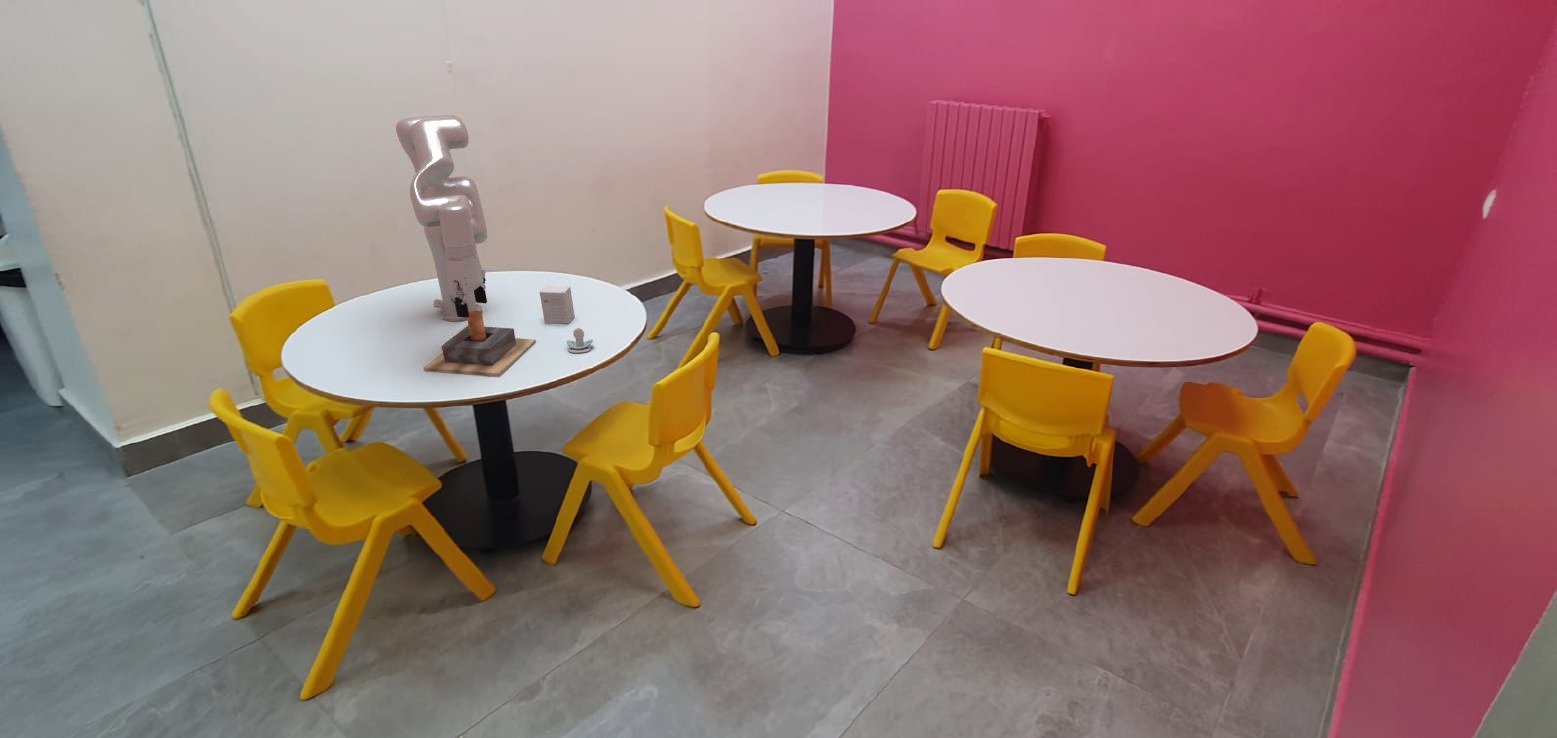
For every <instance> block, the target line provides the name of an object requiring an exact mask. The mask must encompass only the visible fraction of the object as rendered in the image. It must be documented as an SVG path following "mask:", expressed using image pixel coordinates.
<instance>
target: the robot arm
mask: <svg viewBox="0 0 1557 738" xmlns="http://www.w3.org/2000/svg"><path fill="white" fill-rule="evenodd" d="M395 130H396V131H395V132H396V135H397V138H398V141H399V143H400V145H401V147H402V149H403V151H404V152H405V154H406V155H407V157H408V159H409V160H410V162H411V164H412V166H413V169H414V172H415V174H414V176H413V178H412V179H411V183H410V185H409V186H410V187H409V194H410V201H411V204H412V208H413V211H414V215H415V218H416V220H417V222H418V223H419V225H421V226H422V227H423V231H424V235H425V238H426V240H427V243H428V245H429V248H430V252H431V255H432V257H433V258H432V259H433V262H434V267H435V271H436V276H437V280H438V285H439V286H438V287H439V290H440V296H441V298H442V299H434V301H433V305H432V306H433V309H434V308H436V309H437V308H438V309H439V308H440V309H441V311H440V312H439V316H440V318H441V319H443V320H445V321H449V322H451V321H452V322H459V321H467V318H468V317H469V312H471V311H481V312H482V313H483V307H482V306H481V304H487V303H488V298H487V291H486V281H487V280H486V270H485V269H482V266H481V262H480V261H481V260H480V259H479V255H478V252H477V251H478V250H477V244H482V243H484V242H486V241H487V239H488V228H487V224H486V220H485V216H484V210H483V208H482V203H481V199H480V194H479V190H478V187H477V185H476V183H475V181H474V180H473V179H472V177H471V178H470V177H468V176H453V177H452V176H451V175H452V174H453V172H454V170H455V163H454V161H453V157H452V155H451V152H450V150H456V149H457V150H458V149H465V148H467V147H468V145H469V140H470V138H469V133H468V129H467V126H466V125H465V123H464V121H463V120H462V119H461V118H460V117H459V116H457V115H455V114H446V115H431V116H430V115H429V116H425V115H424V116H414V117H407V118H404V119H403V118H402V119H401V120H399V121H398V122H396V126H395ZM450 176H451V177H450Z"/></svg>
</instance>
